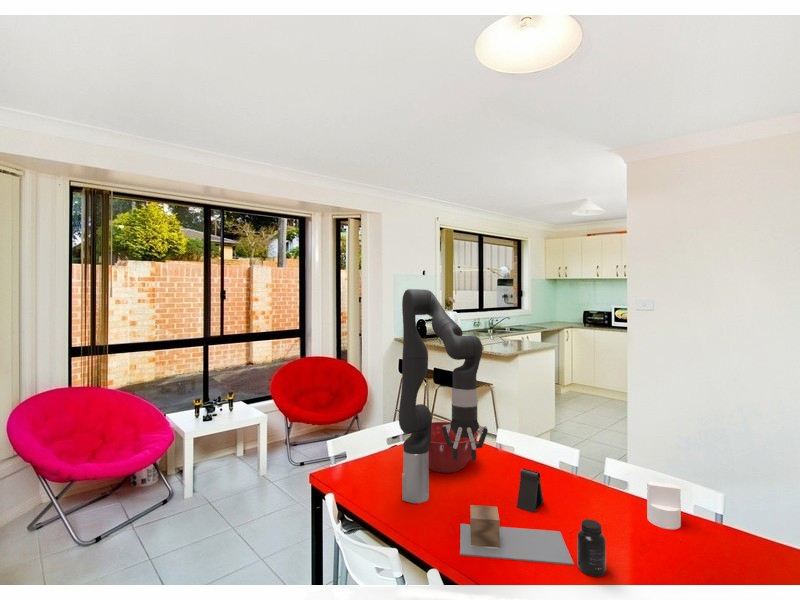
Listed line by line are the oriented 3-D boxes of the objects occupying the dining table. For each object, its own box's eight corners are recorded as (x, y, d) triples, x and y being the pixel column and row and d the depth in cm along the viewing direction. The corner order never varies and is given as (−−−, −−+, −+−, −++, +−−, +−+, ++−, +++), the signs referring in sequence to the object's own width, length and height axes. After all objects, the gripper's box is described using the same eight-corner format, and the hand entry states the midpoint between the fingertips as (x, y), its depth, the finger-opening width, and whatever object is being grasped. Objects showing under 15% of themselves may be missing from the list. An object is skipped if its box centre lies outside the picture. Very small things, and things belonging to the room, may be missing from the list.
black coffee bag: (533, 513, 139) (533, 477, 139) (516, 507, 143) (516, 472, 143) (543, 503, 146) (543, 469, 146) (527, 498, 150) (527, 464, 150)
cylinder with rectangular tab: (675, 518, 136) (675, 481, 136) (684, 532, 127) (684, 493, 127) (644, 513, 139) (644, 477, 139) (650, 527, 130) (650, 488, 130)
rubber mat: (460, 555, 116) (460, 553, 116) (460, 524, 132) (460, 523, 132) (573, 565, 111) (573, 563, 111) (560, 532, 127) (560, 531, 127)
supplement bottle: (572, 561, 113) (572, 517, 113) (596, 560, 113) (596, 516, 114) (586, 578, 106) (585, 531, 106) (611, 577, 107) (611, 529, 107)
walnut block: (470, 546, 119) (470, 518, 120) (470, 531, 127) (470, 504, 127) (499, 548, 118) (499, 520, 118) (497, 533, 126) (497, 506, 126)
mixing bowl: (484, 481, 164) (484, 442, 164) (411, 481, 164) (411, 441, 165) (472, 455, 192) (472, 421, 192) (410, 455, 193) (410, 421, 193)
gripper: (439, 405, 121) (439, 464, 121) (489, 406, 119) (489, 467, 119) (441, 399, 129) (441, 455, 129) (488, 400, 127) (488, 457, 127)
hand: (464, 460), depth 124 cm, fingers open, 4 cm apart
